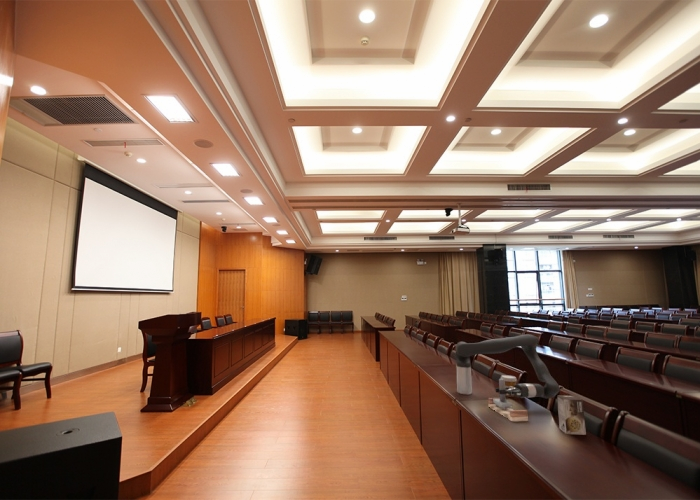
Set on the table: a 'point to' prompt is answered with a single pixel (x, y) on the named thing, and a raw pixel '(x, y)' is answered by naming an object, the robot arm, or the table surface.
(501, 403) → the carriage
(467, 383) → the robot arm
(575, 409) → the coffee box
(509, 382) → the disposable coffee cup
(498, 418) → the table surface
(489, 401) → the rail bed
